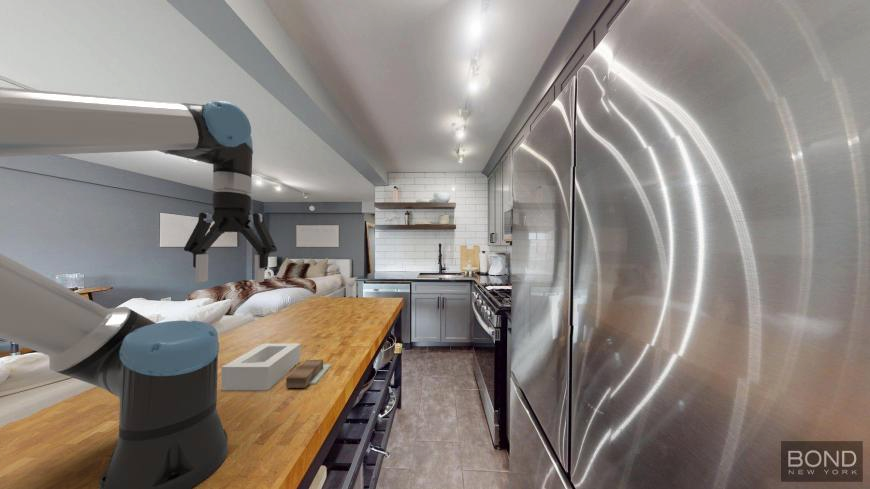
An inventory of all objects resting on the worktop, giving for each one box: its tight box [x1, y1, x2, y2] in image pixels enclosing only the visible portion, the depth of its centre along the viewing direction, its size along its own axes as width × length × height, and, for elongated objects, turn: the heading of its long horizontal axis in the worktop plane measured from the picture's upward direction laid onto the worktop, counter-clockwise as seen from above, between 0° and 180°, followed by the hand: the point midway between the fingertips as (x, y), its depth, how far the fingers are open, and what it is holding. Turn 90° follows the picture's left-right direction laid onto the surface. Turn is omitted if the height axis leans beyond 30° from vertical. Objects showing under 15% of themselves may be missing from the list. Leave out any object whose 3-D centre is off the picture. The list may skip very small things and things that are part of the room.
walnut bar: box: [285, 359, 324, 389], centre depth 78 cm, size 12×5×2 cm, turn 1°
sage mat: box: [307, 363, 332, 386], centre depth 81 cm, size 12×8×1 cm, turn 1°
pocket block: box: [220, 343, 302, 391], centre depth 80 cm, size 18×12×6 cm, turn 1°
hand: (230, 282), depth 66 cm, fingers open, 13 cm apart
